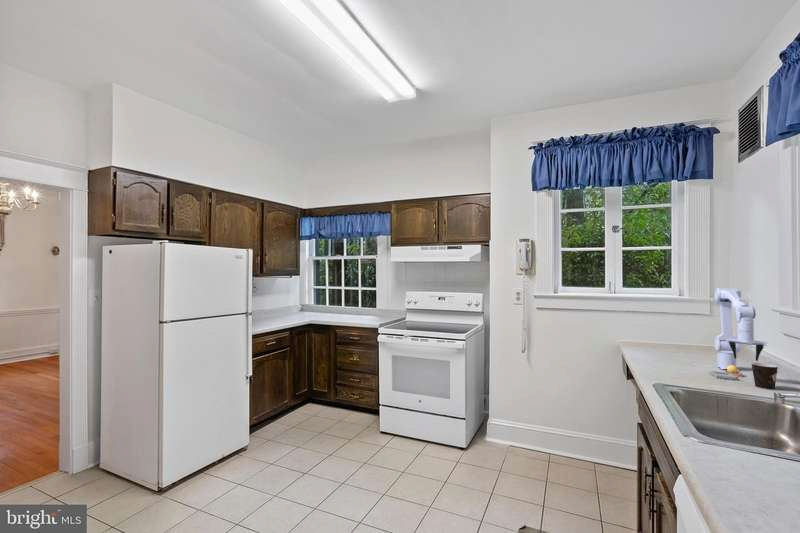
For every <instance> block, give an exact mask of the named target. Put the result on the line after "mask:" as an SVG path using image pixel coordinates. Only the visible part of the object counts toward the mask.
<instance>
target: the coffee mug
mask: <svg viewBox="0 0 800 533" xmlns="http://www.w3.org/2000/svg"><path fill="white" fill-rule="evenodd" d="M778 368H779V367H778V365H775V364H770V363H761V362H751V369H752V374H753V382H754V386H755V387H756V388H759V389H765V390H775V389H776V382H777V375H778Z"/></svg>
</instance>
